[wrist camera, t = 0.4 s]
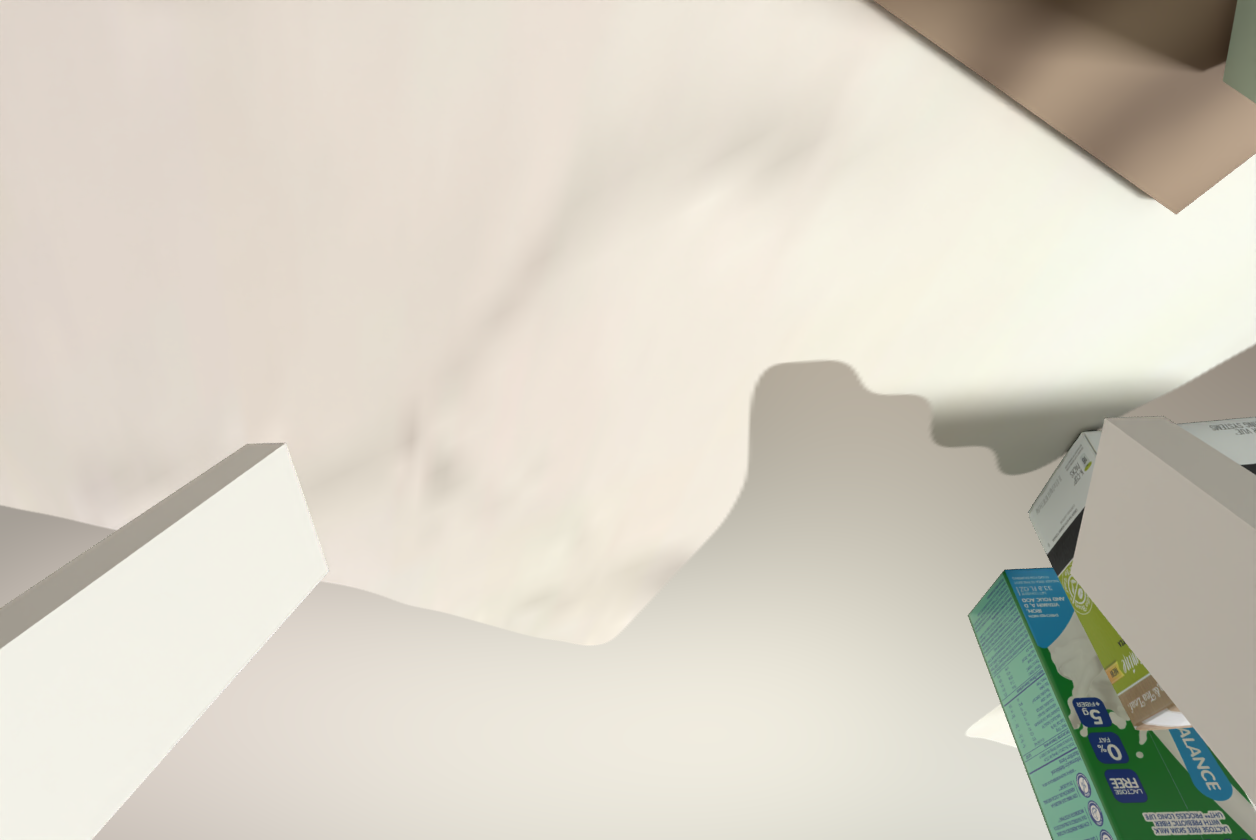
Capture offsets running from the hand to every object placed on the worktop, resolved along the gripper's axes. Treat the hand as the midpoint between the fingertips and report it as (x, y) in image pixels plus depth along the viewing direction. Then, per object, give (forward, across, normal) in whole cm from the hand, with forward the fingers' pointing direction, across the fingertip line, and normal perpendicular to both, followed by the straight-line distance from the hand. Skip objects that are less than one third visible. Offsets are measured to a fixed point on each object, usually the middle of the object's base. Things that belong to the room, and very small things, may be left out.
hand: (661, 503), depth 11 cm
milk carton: (+40, +27, -33) cm, 58 cm away
